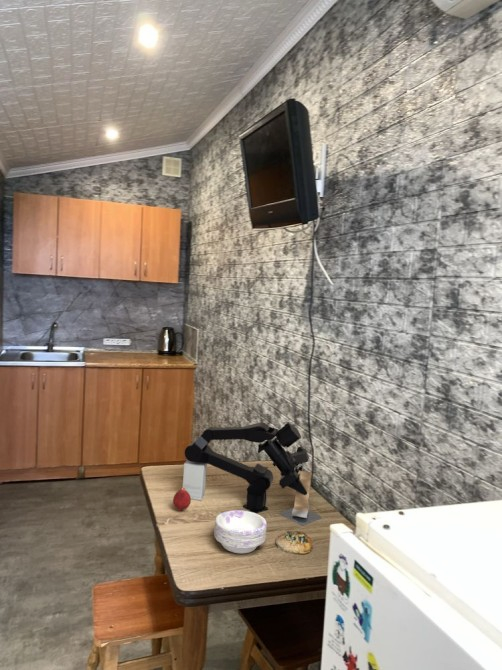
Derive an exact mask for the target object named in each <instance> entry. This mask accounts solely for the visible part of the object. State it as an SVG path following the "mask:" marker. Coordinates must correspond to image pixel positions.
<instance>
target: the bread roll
mask: <svg viewBox="0 0 502 670" xmlns="http://www.w3.org/2000/svg"><path fill="white" fill-rule="evenodd" d="M275 544H276V546H277V549H278V550H280V551H283V552H286V553H288V554H293V555H298V554H299V555H305V554H309V553H310V552H311V551H312V550H313V547H314V545H313V541H312V539H311V537H310V535H308V534H307V533H306V532H305V531H300V530H287V531H285V532H283V534H280V535H278V536H277V538H276V539H275Z"/></svg>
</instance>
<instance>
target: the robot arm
mask: <svg viewBox="0 0 502 670" xmlns="http://www.w3.org/2000/svg"><path fill="white" fill-rule="evenodd" d="M300 439H302V435H301V433H300V432H299V430H298V428H296V427H295V426H294V425H293V424H291V423H290V421H287V422H286V423H285V424H284V425H283V426H281V427H280V428H279V429H278V428H276V427H272V426H269V425H268V424H267V422H262V421H261V422H256V423H252V424H248V425H245V426H226V427H224V426H223V427H213V426H209V427H208V428H206V429H205V430H203V432H202V434H201V435H199V437H198V438H197V439H196V440H195V441H193V442H191V443H190V444H188V446H186V448H185V449H184V457H185V459H186V461H187V460H189V461H191V462H195V463H205V464H207V465H210V466H213V467H215V468H218V469H219V470H222V471H224V472H227V473H229V474H232V475H233V476H236V477H239V478H241V479H242V480H245V481H246V482H247V483H248V486H247V488H246V492H247V495H246V503H245V504H243V506H242V507H243V508H245V510H247V511H249V512H253V513H256V514H259V513H261V512H263V511H267V510H269V507H267V506H266V504H267V490H269V489H270V487H271V485H272V483H273V481H274V474H273V473H272V471H271V470H270V469H268V468H269V467H267V466H263V465H261V463H257V464H256V465H255V466H249V465H247V464H244V463H242V462H240V461H238V460H234V459H232V458H231V457H227V456H225V455H223V454H220V453H218V452H215V451H214V450H212V448H211V447H210V446H209V444H210V443H211V441H221V440H222V441H224V440H227V441H228V440H231V441H232V440H244V441H247V442H251V443H256V444H257V443H258V445H257V447H258V448H257V453H258V454H259V453H262V452H263V451H264V452H265V454H266V455H267V456H268V457H269V459H270V460H271V462H273V463H272V466H273V467H274V468H275V467H277V469H278V470H279V472H280V473H279V474H280V476H281V477H280V479H279V480H278V481H279V483H278V485H279V486H280V488H281V489H282V490H283V489H285V488H286V487H288V488H290V489H292V490H294V491H295V492H296V491H298V492H300V493H302V494H304V495H306V494H307V491H306V489H305V488H304V486H303V484H302V483H301V481H300V473H299V474H298V472H299V471H303V467H304V465H303V463H308V462H309V459H310V456H309V452H308V450H307V449H306V448H304V447H303V446H302V445H301V446H297V448H296V451H294V452H292V453H291V452H290V451H289V450H286V449H285V448H289V447H291V446H292V445H294V444H295V443H296V442H298V441H300ZM299 465H301V466H299Z"/></svg>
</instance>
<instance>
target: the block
mask: <svg viewBox="0 0 502 670" xmlns="http://www.w3.org/2000/svg"><path fill="white" fill-rule="evenodd" d="M299 473H300V481H301V483H302V484H303V486H304V488H305V489H306V491H307V494H306V495H304V494H302V493H300V492H298V491H296V490H295V496H294V505H293V507H294V508H293V507H292V508H293V511H292V515H293V516H299V517H304V518H307V515H308V510H310V502H309V501H310V491H311V484H312V483H311V482H312V475H313V474H312V473H313V472H311V471H310V472H309V471H305V470H302V471H299V472H298V474H299Z"/></svg>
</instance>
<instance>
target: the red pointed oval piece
mask: <svg viewBox="0 0 502 670" xmlns="http://www.w3.org/2000/svg"><path fill="white" fill-rule="evenodd" d="M182 487H183V486H182ZM182 487H181V488H180V490H178V491H177V492H176V493H175V494H174V497H173V500H172V503H173V505H174V508H176V509H177V510H178V511H179V512H183V511H185V510H186V509H187V508H189V506H190V505H191V502H192V501H191V500H192V499H191V497H190V494H189V493H188V492H187V491H185V488H184V487H183V488H182Z"/></svg>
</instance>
